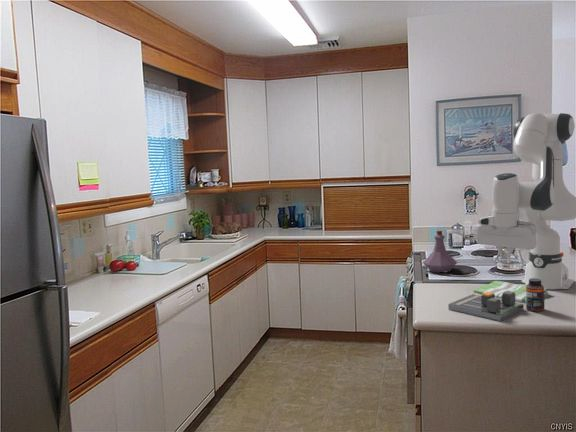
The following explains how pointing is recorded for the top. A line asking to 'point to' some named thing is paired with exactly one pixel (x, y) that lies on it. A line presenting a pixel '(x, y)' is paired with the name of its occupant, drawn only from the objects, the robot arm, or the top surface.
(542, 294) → the supplement bottle
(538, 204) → the robot arm
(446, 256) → the flask
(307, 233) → the top surface
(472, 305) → the panel
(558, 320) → the top surface
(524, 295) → the dish towel
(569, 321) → the top surface
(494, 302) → the block
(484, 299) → the breaker mid
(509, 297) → the block
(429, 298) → the top surface
